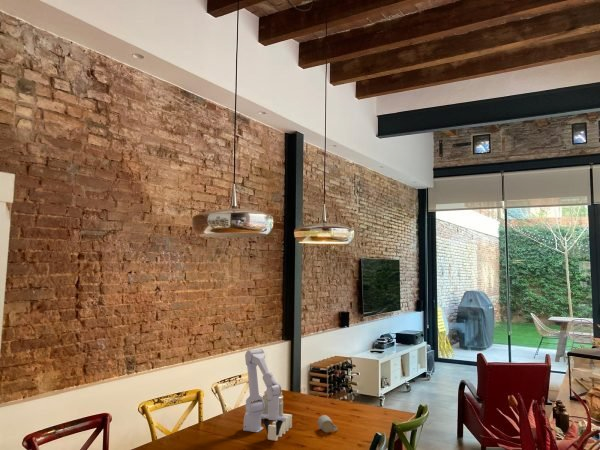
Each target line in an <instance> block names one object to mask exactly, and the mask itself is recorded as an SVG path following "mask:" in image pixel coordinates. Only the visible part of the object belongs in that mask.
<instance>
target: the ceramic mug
mask: <svg viewBox="0 0 600 450" xmlns="http://www.w3.org/2000/svg"><path fill="white" fill-rule="evenodd" d="M317 425H318V427H319V428H320V430H321V431H322V432H324V433H325V434H326V433H327V434H328V433H331V432H332V431H333V432H337V431H338V429H339V428H338V427H337V426H336V425H335V424H334V422H333V421H332V420H331V417H329V416H328V415H326V414H323V415H321V416H319V417H318V419H317Z"/></svg>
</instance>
